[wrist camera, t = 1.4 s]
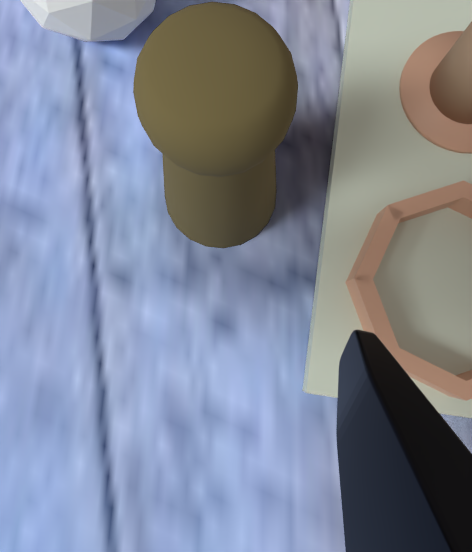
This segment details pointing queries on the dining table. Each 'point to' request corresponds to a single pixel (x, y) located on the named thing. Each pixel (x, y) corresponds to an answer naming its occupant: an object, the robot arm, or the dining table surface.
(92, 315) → the dining table surface
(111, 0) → the faceted white bauble
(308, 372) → the pin board
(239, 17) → the cork
